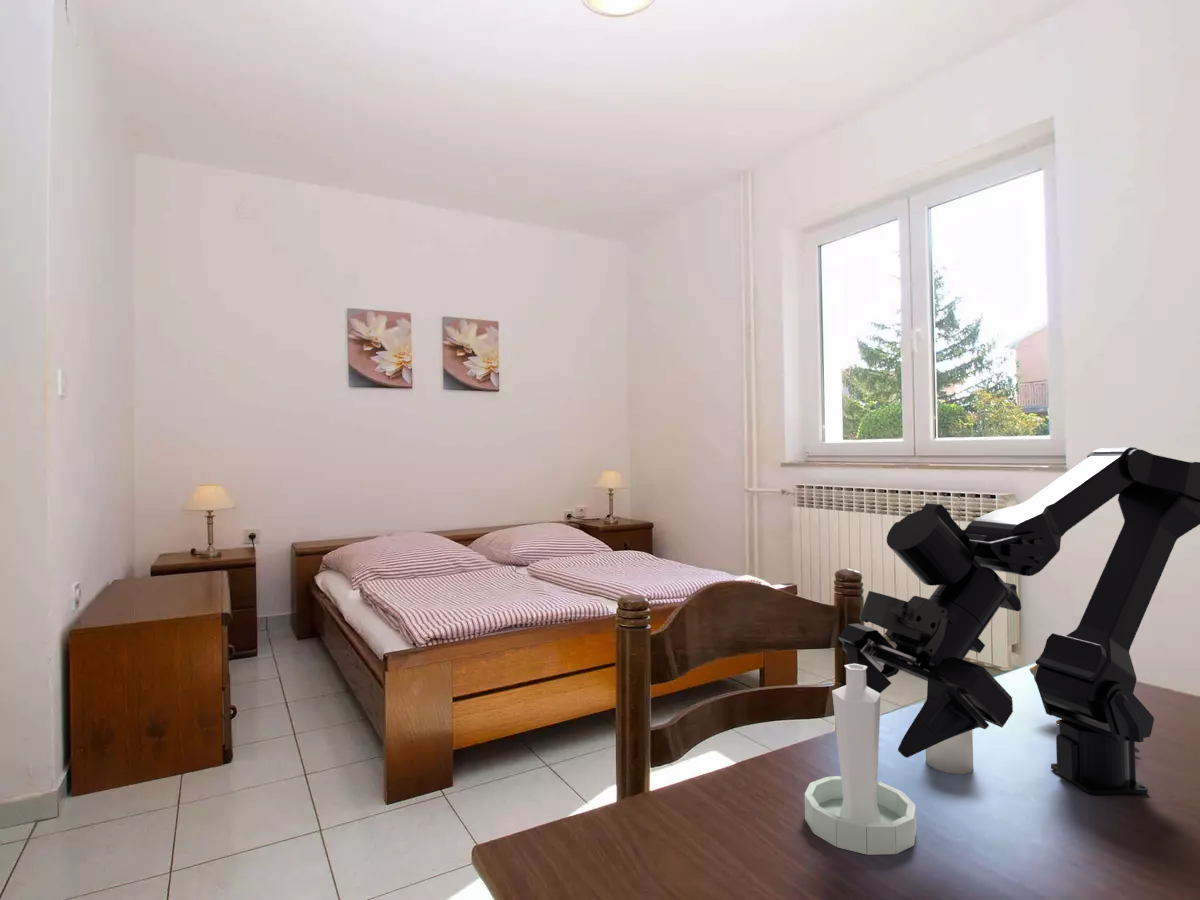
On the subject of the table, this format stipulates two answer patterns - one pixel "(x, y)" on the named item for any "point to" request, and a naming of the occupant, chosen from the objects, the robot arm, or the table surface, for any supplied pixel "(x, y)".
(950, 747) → the cream jar
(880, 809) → the ring dish
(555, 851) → the table surface
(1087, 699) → the robot arm
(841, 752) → the white faceted vase
